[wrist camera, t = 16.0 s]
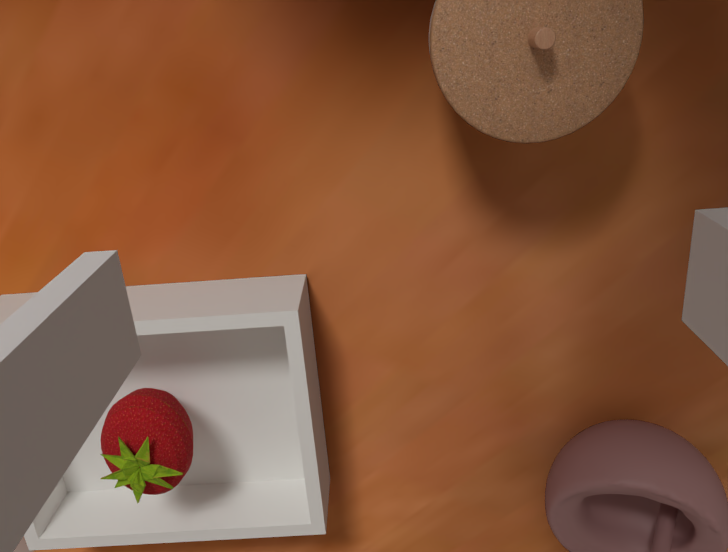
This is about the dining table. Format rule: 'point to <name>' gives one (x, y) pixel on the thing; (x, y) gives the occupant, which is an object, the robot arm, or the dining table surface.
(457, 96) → the lidded jar
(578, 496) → the mortar and pestle
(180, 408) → the strawberry
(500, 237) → the dining table surface
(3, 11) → the dining table surface
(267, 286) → the bin
